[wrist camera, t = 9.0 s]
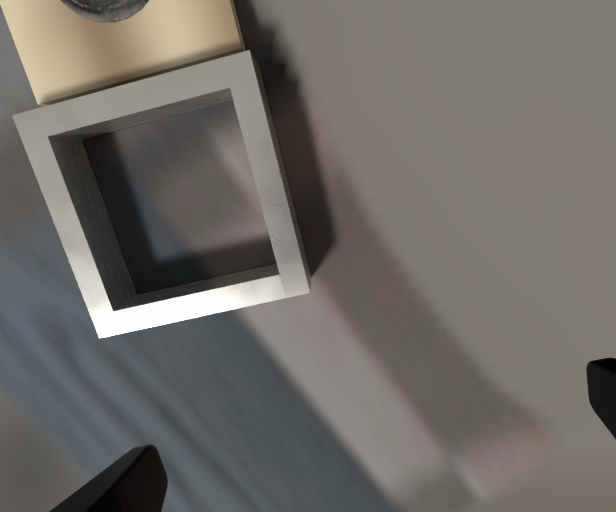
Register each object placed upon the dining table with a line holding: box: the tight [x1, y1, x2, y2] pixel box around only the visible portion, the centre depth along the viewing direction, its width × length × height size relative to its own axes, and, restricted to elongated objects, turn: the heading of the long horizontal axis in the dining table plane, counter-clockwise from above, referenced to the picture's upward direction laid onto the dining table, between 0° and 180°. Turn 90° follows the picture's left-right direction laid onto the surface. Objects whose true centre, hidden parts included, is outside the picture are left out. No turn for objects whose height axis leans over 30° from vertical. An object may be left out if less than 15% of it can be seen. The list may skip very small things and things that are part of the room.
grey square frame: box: [12, 50, 311, 338], centre depth 19 cm, size 11×11×2 cm
